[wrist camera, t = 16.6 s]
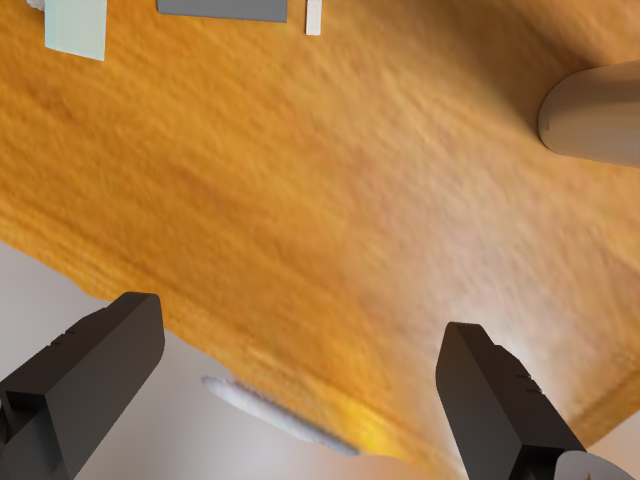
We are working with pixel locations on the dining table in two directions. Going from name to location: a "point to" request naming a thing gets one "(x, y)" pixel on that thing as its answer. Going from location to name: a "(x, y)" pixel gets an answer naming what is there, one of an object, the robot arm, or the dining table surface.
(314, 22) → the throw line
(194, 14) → the mat
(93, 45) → the l-shaped corner panel
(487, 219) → the dining table surface
